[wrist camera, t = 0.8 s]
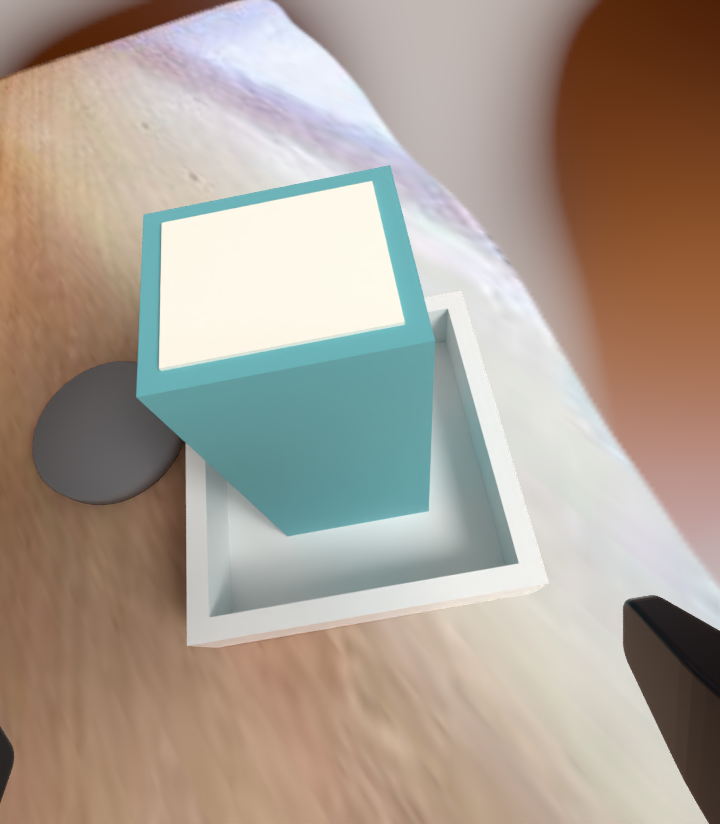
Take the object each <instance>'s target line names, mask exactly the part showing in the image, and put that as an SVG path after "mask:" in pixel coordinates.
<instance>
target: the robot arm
mask: <svg viewBox="0 0 720 824" xmlns="http://www.w3.org/2000/svg"><path fill="white" fill-rule="evenodd" d="M623 647H624V652H625V656H626V659H627V662H628V664H629V666H630V668H631V670H632V672H633V675H634V677H635V679H636V681H637V683H638V685H639V687H640V689H641V691H642V694H643V696H644V698H645V700H646V702H647V704H648V706H649V708H650V710H651V712H652V715H653V717H654V719H655V721H656V723H657V725H658V727H659V729H660V731H661V734H662V736H663V738H664V740H665V742H666V744H667V746H668V748H669V750H670V753H671V755H672V757H673V759H674V761H675V763H676V765H677V767H678V769H679V771H680V773H681V775H682V777H683V779H684V781H685V783H686V785H687V786H688V788H689V790H690V792H691V794H692V795H693V797H694V799H695V801H696V802H697V804H698V806H699V808H700V809H701V811H702V813H703V814H704V816H705V818H706V819H707V821H708V823H709V824H720V631H719V630H717V629H716V628H714V627H712V626H710V625H709V624H707V623H705V622H703V621H702V620H700V619H698V618H696V617H695V616H693V615H691V614H689V613H688V612H686V611H684V610H682V609H680V608H679V607H677V606H675V605H673V604H672V603H670V602H668V601H666V600H665V599H663V598H661V597H658V596H655V595H649V596H643V597H637V598H632V599H628V600H626V601H625V603H624V606H623ZM13 762H14V750H13V747H12V744H11V743H10V741H9V740H8V738H7V736H6V735H5V733H4V731H3V730H2V728H1V727H0V802H1V799H2V796H3V794H4V791H5V788H6V785H7V782H8V779H9V776H10V773H11V770H12V767H13Z"/></svg>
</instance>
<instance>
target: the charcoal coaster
mask: <svg viewBox="0 0 720 824" xmlns="http://www.w3.org/2000/svg"><path fill="white" fill-rule="evenodd" d="M137 367H138V363H136V362H127V361H126V362H112V363H107V364H103V365H99V366H96V367H94V368H91V369H89V370H87V371H85V372H83V373H81V374H79V375H78V376H76V377H74V378H73V379H72V380H70V381H69V382H68V383H66V384H65V385H64V386H63V387H62V388H61V389H60V390H59V391H58V392H57V393H56V394H55V395H54V396H53V397H52V399H51V400H50V401H49V403H48V404H47V405H46V407H45V409H44V410H43V412H42V414H41V416H40V418H39V420H38V423H37V426H36V429H35V432H34V437H33V448H32V449H33V458H34V463H35V466H36V468H37V471H38V473H39V475H40V476H41V478H42V479H43V480H44V481H45V483H46V484H47V485H48V486H50V487H51V488H52V489H54V490H55V491H57V492H59V493H61V494H63V495H65V496H67V497H69V498H71V499H73V500H76V501H78V502H82V503H85V504H91V505H107V504H114V503H118V502H122V501H124V500H127V499H130V498H132V497H134V496H136V495H138V494H140V493H142V492H143V491H145V490H146V489H148V488H149V487H151V486H152V485H153V484H154V483H155V482H157V481H158V480H159V479H160V478H161V477H162V476H163V475H164V474H165V473H166V471H167V470H168V469H169V468H170V466H171V465H172V463H173V462H174V460H175V459H176V457H177V455H178V453H179V451H180V449H181V446H182V443H183V440H182V439H181V438H180V437H179V436H178V435H177V434H176V433H175V432H174V431H172V430H171V429H170V428H169V427H168V426H167V425H166V424H165V423H164V422H163V421H162V420H160V419H159V418H158V417H157V416H156V415H155V414H154V413H153V412H152V411H151V410H150V409H148V408H147V407H146V406H145V405H144V404H143V403H142V402H141V401H140V400H139V399H138V398H136V392H137Z"/></svg>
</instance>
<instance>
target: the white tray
mask: <svg viewBox="0 0 720 824" xmlns="http://www.w3.org/2000/svg"><path fill="white" fill-rule="evenodd" d="M424 300H425V303H426V307H427V311H428V315H429V319H430V323H431V327H432V331H433V335H434V339H435V357H434V384H433V411H432V438H431V465H430V493H429V511H427V512H422V513H416V514H411V515H405V516H399V517H394V518H388V519H383V520H377V521H371V522H366V523H360V524H355V525H349V526H343V527H338V528H332V529H327V530H321V531H315V532H310V533H304V534H299V535H293V536H287V535H286V534H285V533H283V532H282V531H281V530H280V529H279V528H278V527H277V526H276V525H275V524H274V523H273V522H271V521H270V520H269V519H268V518H267V517H266V516H265V515H264V514H263V513H262V512H261V511H260V510H258V509H257V508H256V507H255V506H254V505H253V504H252V503H251V502H250V501H249V500H248V499H246V498H245V497H244V496H243V495H242V494H241V493H240V492H239V491H238V490H237V489H236V488H234V487H233V486H232V485H231V484H230V483H229V482H228V481H227V480H226V479H225V478H224V477H222V476H221V475H220V474H219V473H218V472H217V471H216V470H215V469H214V468H213V467H212V466H211V465H209V464H208V463H207V462H206V461H205V460H204V459H203V458H202V457H201V456H200V455H199V454H197V453H196V452H195V451H194V450H193V449H192V448H191V447H190V446H189V445H188V444H187V443H186V567H187V646H197V647H213V648H219V647H225V646H231V645H237V644H242V643H248V642H254V641H260V640H266V639H271V638H277V637H283V636H289V635H295V634H300V633H306V632H312V631H318V630H324V629H329V628H335V627H341V626H347V625H353V624H358V623H364V622H370V621H376V620H382V619H387V618H393V617H399V616H405V615H411V614H416V613H422V612H428V611H434V610H440V609H445V608H451V607H457V606H463V605H469V604H474V603H480V602H486V601H492V600H498V599H503V598H509V597H515V596H521V595H527V594H532V593H534V592H536V591H537V590H539V589H541V588H542V587H544V586H545V585H547V584H549V581H548V578H547V575H546V571H545V568H544V565H543V561H542V558H541V555H540V551H539V548H538V545H537V541H536V538H535V535H534V531H533V528H532V524H531V521H530V518H529V514H528V511H527V508H526V504H525V501H524V498H523V494H522V491H521V488H520V484H519V481H518V477H517V474H516V471H515V467H514V464H513V461H512V457H511V454H510V451H509V447H508V444H507V441H506V437H505V434H504V431H503V427H502V424H501V420H500V417H499V414H498V410H497V407H496V404H495V400H494V397H493V394H492V390H491V387H490V384H489V380H488V377H487V373H486V370H485V367H484V363H483V360H482V357H481V353H480V350H479V347H478V343H477V340H476V337H475V333H474V330H473V327H472V323H471V320H470V316H469V313H468V310H467V306H466V303H465V300H464V296H463V293H462V290H461V291H456V292H451V293H446V294H441V295H435V296H430V297H425V298H424Z"/></svg>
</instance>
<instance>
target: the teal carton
mask: <svg viewBox="0 0 720 824" xmlns="http://www.w3.org/2000/svg"><path fill="white" fill-rule="evenodd" d="M434 357H435V339H434V335H433V331H432V327H431V323H430V319H429V315H428V311H427V307H426V303H425V300H424V296H423V292H422V288H421V284H420V280H419V276H418V272H417V268H416V264H415V261H414V257H413V253H412V249H411V245H410V241H409V237H408V233H407V229H406V225H405V222H404V218H403V214H402V210H401V206H400V202H399V198H398V194H397V190H396V186H395V183H394V179H393V175H392V171H391V167H390V165H389V166H384V167H379V168H374V169H369V170H364V171H360V172H355V173H350V174H345V175H340V176H335V177H330V178H325V179H320V180H315V181H310V182H305V183H300V184H295V185H290V186H285V187H280V188H275V189H270V190H265V191H260V192H255V193H250V194H245V195H240V196H235V197H230V198H225V199H220V200H215V201H210V202H205V203H200V204H195V205H190V206H185V207H180V208H175V209H170V210H165V211H160V212H155V213H150V214H145V215H144V216H143V241H142V266H141V291H140V316H139V342H138V367H137V392H136V398H138V399H139V400H140V401H141V402H142V403H143V404H144V405H145V406H146V407H147V408H148V409H150V410H151V411H152V412H153V413H154V414H155V415H156V416H157V417H158V418H159V419H160V420H162V421H163V422H164V423H165V424H166V425H167V426H168V427H169V428H170V429H171V430H172V431H174V432H175V433H176V434H177V435H178V436H179V437H180V438H181V439H182V440H183V441H184V442H185V443H187V444H188V445H189V446H190V447H191V448H192V449H193V450H194V451H195V452H196V453H197V454H199V455H200V456H201V457H202V458H203V459H204V460H205V461H206V462H207V463H208V464H209V465H211V466H212V467H213V468H214V469H215V470H216V471H217V472H218V473H219V474H220V475H221V476H222V477H224V478H225V479H226V480H227V481H228V482H229V483H230V484H231V485H232V486H233V487H234V488H236V489H237V490H238V491H239V492H240V493H241V494H242V495H243V496H244V497H245V498H246V499H248V500H249V501H250V502H251V503H252V504H253V505H254V506H255V507H256V508H257V509H258V510H260V511H261V512H262V513H263V514H264V515H265V516H266V517H267V518H268V519H269V520H270V521H271V522H273V523H274V524H275V525H276V526H277V527H278V528H279V529H280V530H281V531H282V532H283V533H285V534H286V535H287V536H293V535H299V534H304V533H310V532H315V531H321V530H327V529H332V528H338V527H343V526H349V525H355V524H360V523H366V522H371V521H377V520H383V519H388V518H394V517H399V516H405V515H411V514H416V513H422V512H427V511H429V493H430V465H431V438H432V411H433V384H434Z"/></svg>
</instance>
